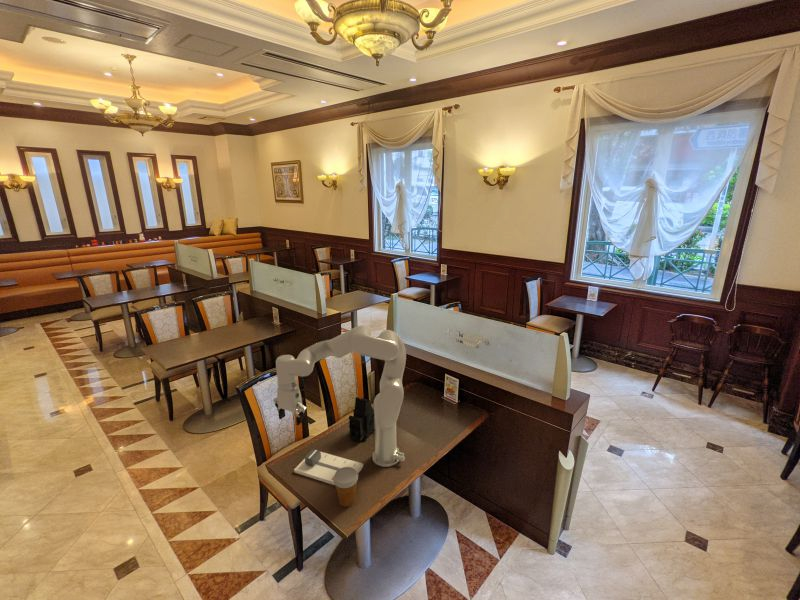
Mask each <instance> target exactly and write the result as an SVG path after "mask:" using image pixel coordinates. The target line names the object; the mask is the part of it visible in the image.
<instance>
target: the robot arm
mask: <svg viewBox="0 0 800 600" xmlns="http://www.w3.org/2000/svg"><path fill="white" fill-rule="evenodd" d="M353 352H354V353H355V354H357V355H361V356H364V357H368V358H373V359H377V360H381V361H384V366H383V371H382V373H381V378H380V380H379V393H378V394H376V395H375V398H374V400H373V410H374V429H375V431H374V445H375V450H374V451H373V452H372V454H371V455H372V461H373V463H374V464H375V465H377V466H380V467H382V468H385V467H386V468H387V467H388V468H389V467H393V466H395V465H397V464H398V462H400V461H402V462H405V460H406V457H405V453H404V452H401V451H400V448H399V447H398V446H397V443H398V442H397V422H398V421H397V420H398V418H399V415H400V412H401V408H402V406H403V405H402V404H403V400H404V395H405V394H404V386H403V376H404V371H405V368H406V367H405V366H406V361H407V351H406V346H405V343H404V341H403V339H402V338H401V337H400V335H399V334H398V333H397V332H395V331H393V330H391V329H384V330H383V331H382V332H380V334H379V335H378V337H375V336H372V334H371V331H370V330H369V328H368V327H367V326H365V325H358V326H357V325H356V326H355V327H353V328H351V329H349V330H347V331H345V332H343V333H341V334H339V335H336V336H335V337H333V338H331V339H326V340H322V341H317V342H316V343H313V344H312V345H310V346H307V347H305V348H304V349H303V350H301V351H300V353H299V354H298V355H297V358H295V357H294V356H293V355H291V354H282V355H279V356H278V357H277V358H276V360H275V368H276V369H275V370H276V378H277V391H276V397H274V398H273V399H272V400H273V401H272V402H273V403H274V405H275V407H276V410H277V412H278V419H279V420H282V419H283V418H285V417H286V411H288V412H291V413H294V414H295V415H296V417H295V420H296V422H295V423H296V426H300V425H301V424H302V423H304V422H303V421H304V419H303V415H304V414H305V413H306V410H307V407H306V406H305V405H304V404H303V398H302V394H301V390H300V388H299V385H298V381H297V380H298V379H297V377H308V376H309V375H311V374H312V372H313V371H314V367H315V363H317V362H319V361H321V360H323V359H325V358H327V357H334V358H337V359H341V358H343V357H345V356H347V355H349V354H351V353H353Z"/></svg>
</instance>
